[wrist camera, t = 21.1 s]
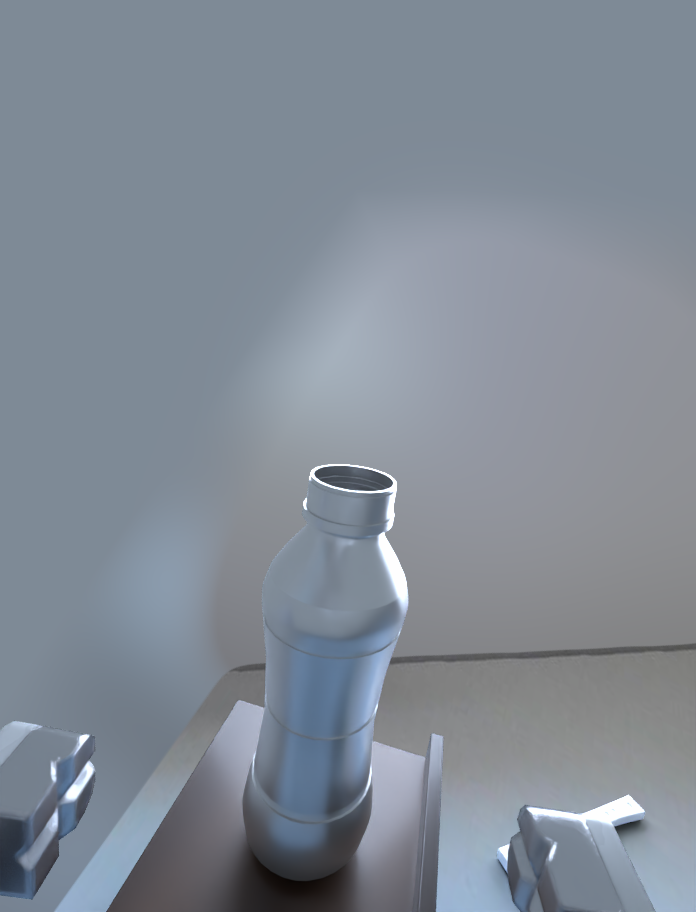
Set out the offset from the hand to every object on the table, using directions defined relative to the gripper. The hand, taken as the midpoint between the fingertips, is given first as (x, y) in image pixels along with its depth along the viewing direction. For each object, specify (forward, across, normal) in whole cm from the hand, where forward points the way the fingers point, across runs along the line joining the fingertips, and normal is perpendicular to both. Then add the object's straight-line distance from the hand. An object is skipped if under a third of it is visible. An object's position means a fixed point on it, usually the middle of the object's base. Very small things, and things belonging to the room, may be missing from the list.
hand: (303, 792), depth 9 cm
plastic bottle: (+12, 0, +18) cm, 21 cm away
